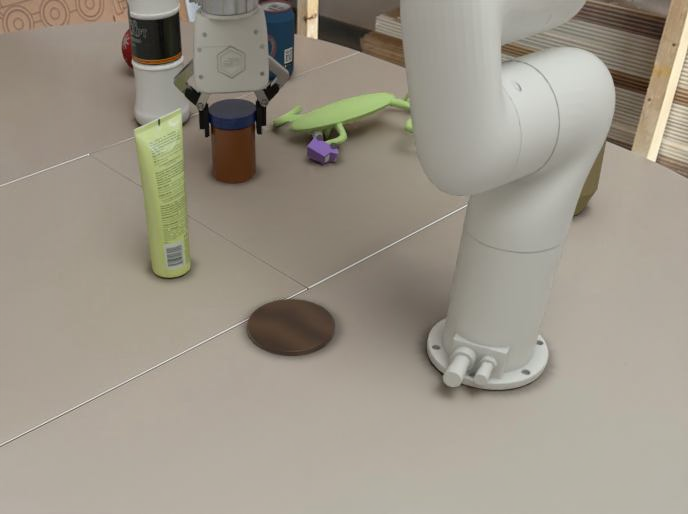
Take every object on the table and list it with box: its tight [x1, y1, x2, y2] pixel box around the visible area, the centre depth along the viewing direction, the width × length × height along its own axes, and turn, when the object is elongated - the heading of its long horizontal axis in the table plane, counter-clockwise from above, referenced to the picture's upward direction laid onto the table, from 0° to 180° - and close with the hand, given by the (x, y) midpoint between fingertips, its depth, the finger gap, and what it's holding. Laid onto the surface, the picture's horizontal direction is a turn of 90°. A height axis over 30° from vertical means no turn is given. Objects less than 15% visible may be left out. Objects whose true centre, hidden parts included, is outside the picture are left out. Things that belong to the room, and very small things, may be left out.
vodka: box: [125, 0, 191, 126], centre depth 128 cm, size 9×9×30 cm
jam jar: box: [209, 122, 257, 184], centre depth 120 cm, size 6×6×9 cm
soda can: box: [258, 0, 296, 83], centre depth 145 cm, size 7×7×12 cm
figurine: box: [272, 91, 413, 165], centre depth 127 cm, size 18×27×6 cm
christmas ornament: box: [121, 28, 133, 70], centre depth 150 cm, size 9×9×10 cm
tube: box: [133, 108, 192, 279], centre depth 98 cm, size 6×5×20 cm
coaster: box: [247, 298, 336, 356], centre depth 94 cm, size 10×10×1 cm
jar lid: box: [209, 98, 256, 130], centre depth 117 cm, size 7×7×2 cm
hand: (233, 131), depth 118 cm, fingers closed on jar lid, 6 cm apart
